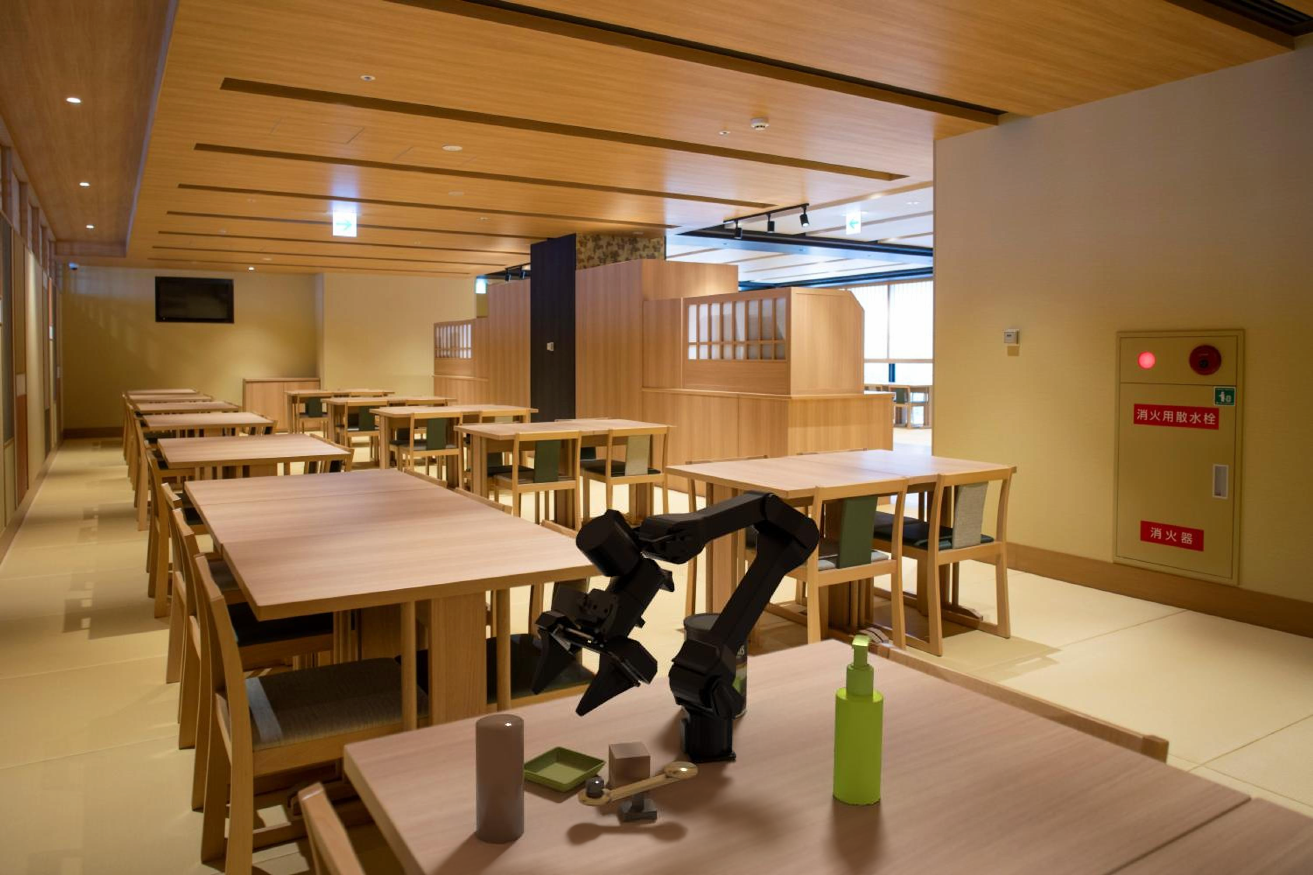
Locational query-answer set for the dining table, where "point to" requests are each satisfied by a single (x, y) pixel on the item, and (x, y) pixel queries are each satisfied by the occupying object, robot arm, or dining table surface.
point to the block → (628, 764)
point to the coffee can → (700, 627)
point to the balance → (635, 792)
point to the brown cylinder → (499, 778)
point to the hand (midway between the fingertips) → (554, 703)
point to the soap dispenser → (858, 732)
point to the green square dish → (562, 768)
